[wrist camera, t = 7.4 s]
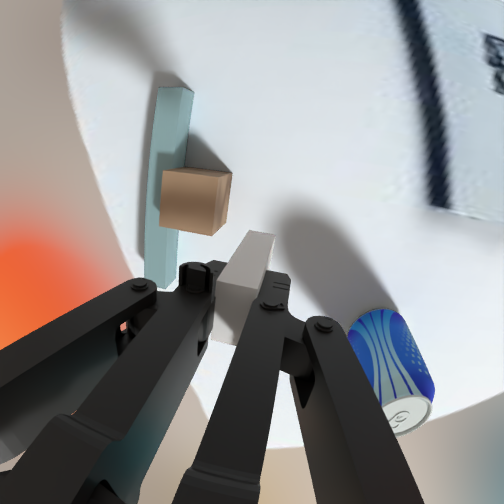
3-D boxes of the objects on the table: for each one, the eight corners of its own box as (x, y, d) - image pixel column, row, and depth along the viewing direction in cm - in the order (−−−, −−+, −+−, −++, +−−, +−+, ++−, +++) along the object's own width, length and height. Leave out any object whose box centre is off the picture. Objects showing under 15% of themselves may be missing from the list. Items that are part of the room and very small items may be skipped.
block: (184, 166, 34) (162, 170, 29) (232, 172, 34) (218, 177, 28) (180, 214, 36) (158, 226, 31) (226, 222, 36) (211, 236, 30)
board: (171, 92, 31) (158, 87, 28) (194, 92, 31) (183, 87, 28) (156, 273, 40) (144, 283, 36) (175, 278, 39) (165, 289, 36)
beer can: (338, 317, 37) (350, 409, 22) (397, 294, 35) (439, 376, 20) (355, 362, 39) (367, 451, 24) (408, 341, 37) (441, 425, 22)
